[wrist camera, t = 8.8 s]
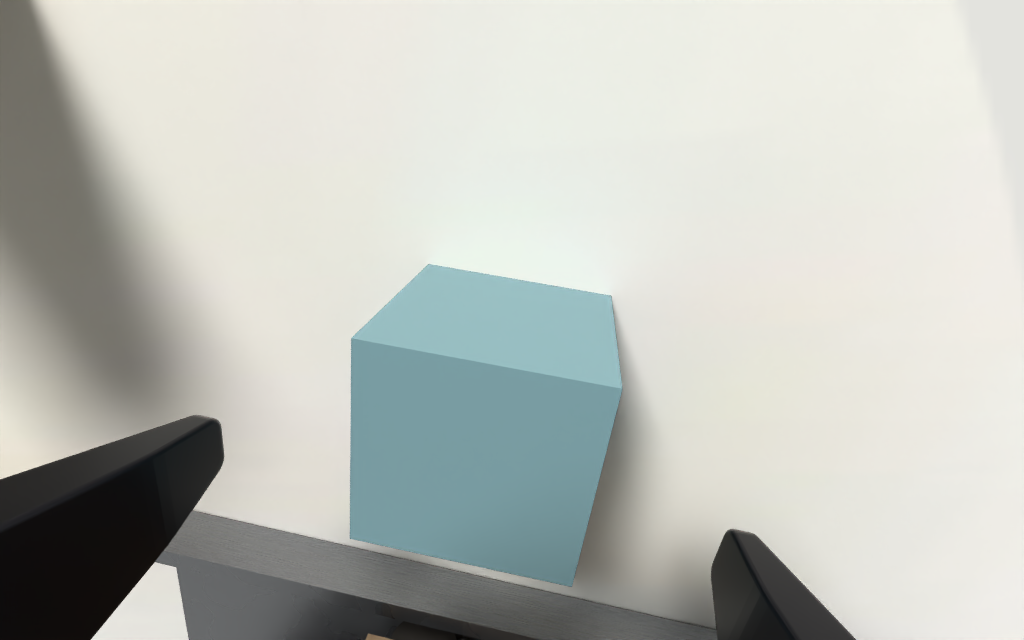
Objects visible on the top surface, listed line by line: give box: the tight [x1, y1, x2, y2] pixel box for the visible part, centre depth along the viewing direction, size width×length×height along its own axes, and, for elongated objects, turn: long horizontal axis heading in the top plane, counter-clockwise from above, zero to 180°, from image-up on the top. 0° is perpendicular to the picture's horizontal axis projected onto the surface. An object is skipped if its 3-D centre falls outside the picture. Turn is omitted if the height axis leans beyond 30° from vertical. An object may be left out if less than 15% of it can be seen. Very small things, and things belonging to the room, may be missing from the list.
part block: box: [350, 264, 622, 587], centre depth 11 cm, size 4×4×4 cm
